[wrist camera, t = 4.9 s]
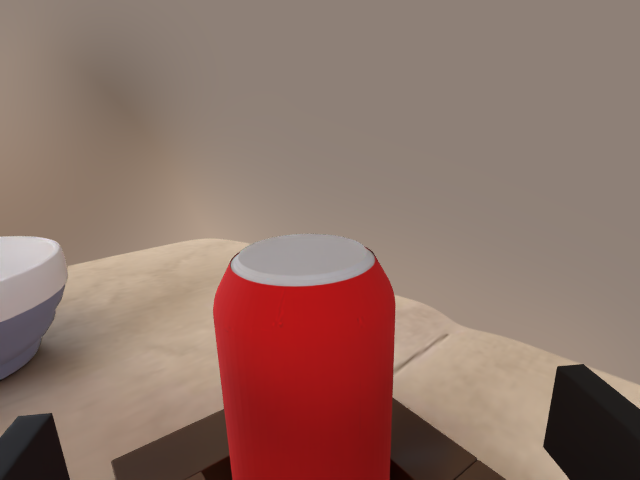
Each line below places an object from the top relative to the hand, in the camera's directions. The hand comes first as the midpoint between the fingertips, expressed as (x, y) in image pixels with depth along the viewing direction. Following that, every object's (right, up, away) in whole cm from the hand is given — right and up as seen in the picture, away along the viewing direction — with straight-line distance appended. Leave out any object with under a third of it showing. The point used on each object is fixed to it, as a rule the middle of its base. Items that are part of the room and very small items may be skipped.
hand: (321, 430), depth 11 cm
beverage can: (0, -7, +6) cm, 10 cm away
